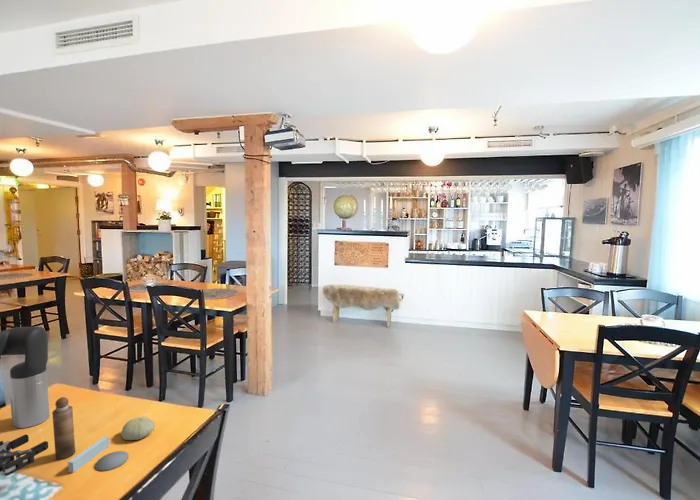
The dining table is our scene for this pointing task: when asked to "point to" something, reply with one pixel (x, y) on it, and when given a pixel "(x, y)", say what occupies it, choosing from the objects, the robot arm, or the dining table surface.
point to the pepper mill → (63, 429)
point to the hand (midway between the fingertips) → (37, 440)
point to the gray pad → (111, 460)
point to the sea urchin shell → (137, 428)
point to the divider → (88, 454)
